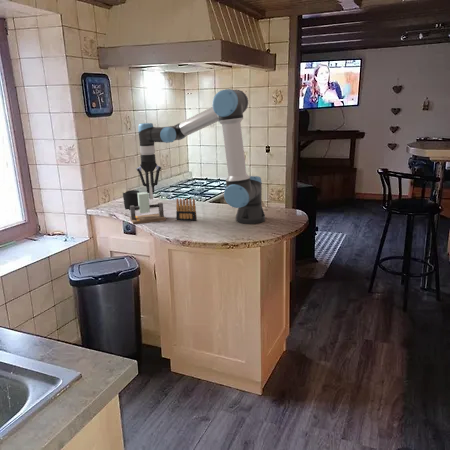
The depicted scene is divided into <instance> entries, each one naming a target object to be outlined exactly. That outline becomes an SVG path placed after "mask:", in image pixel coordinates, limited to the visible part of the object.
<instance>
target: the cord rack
mask: <svg viewBox="0 0 450 450" xmlns="http://www.w3.org/2000/svg"><path fill="white" fill-rule="evenodd" d="M149 207H150V209H153V208H158V213H152V214H142V215H136V210H139V209H140V207H139V206H136V207H135V206H134V205H133V206H130V210H129V211H130V216H129V219H130V221H131V222H132V224H133V225H138V224H147V223H155V222H163V221H167V218H166V217H165V213H164V203H163V202H157V203H156V204H149Z"/></svg>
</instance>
